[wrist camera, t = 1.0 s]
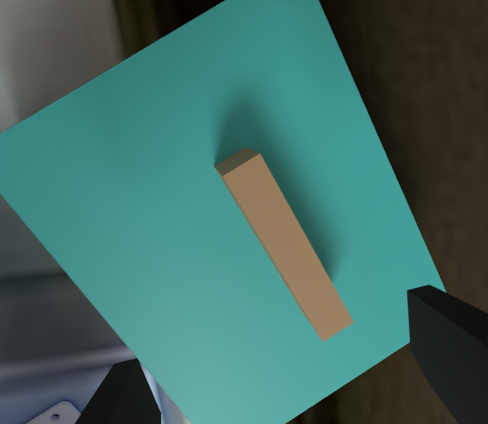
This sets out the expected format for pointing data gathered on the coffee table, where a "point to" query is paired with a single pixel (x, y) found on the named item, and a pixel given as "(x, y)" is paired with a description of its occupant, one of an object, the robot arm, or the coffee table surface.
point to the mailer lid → (228, 212)
